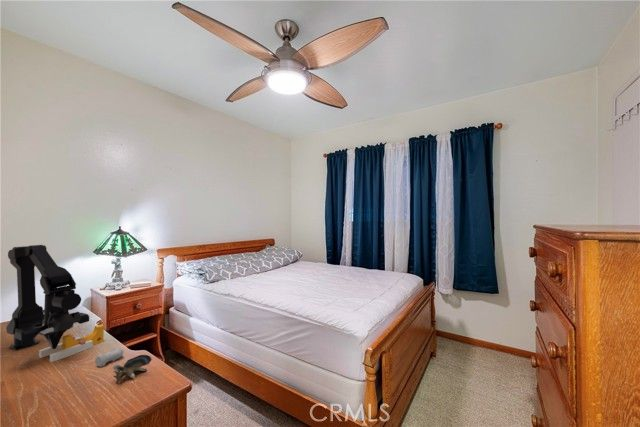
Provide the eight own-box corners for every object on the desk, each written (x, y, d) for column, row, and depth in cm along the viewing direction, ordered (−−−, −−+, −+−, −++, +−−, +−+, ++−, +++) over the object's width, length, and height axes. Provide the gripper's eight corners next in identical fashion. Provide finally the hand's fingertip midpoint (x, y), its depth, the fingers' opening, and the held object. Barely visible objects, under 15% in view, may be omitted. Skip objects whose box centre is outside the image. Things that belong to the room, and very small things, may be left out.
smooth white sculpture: (118, 358, 96) (126, 357, 94) (92, 369, 89) (100, 368, 87) (116, 346, 97) (124, 344, 95) (90, 356, 90) (99, 354, 88)
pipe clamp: (97, 339, 109) (97, 323, 109) (103, 341, 107) (103, 325, 107) (59, 352, 98) (60, 335, 98) (65, 355, 96) (66, 337, 96)
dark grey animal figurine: (126, 385, 77) (156, 364, 85) (115, 364, 78) (145, 345, 86) (116, 391, 80) (146, 371, 88) (106, 371, 81) (136, 352, 89)
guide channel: (38, 356, 95) (39, 347, 95) (79, 342, 106) (79, 334, 106) (52, 362, 91) (52, 352, 91) (92, 347, 102) (93, 338, 102)
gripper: (30, 318, 84) (28, 366, 84) (98, 301, 101) (96, 342, 101) (14, 313, 88) (12, 359, 88) (82, 298, 106) (80, 336, 105)
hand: (54, 348), depth 95 cm, fingers closed
